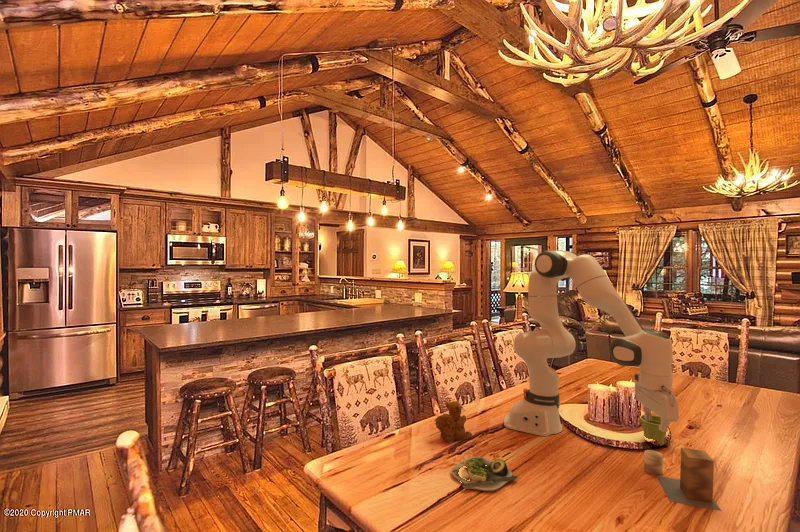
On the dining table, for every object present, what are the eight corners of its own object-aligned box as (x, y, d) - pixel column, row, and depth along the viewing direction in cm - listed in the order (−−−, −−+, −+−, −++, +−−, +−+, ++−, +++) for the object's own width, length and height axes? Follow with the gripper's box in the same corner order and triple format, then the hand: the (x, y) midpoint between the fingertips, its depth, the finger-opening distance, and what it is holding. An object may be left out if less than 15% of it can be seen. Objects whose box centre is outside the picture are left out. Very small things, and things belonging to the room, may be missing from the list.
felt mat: (669, 502, 112) (669, 501, 112) (655, 476, 125) (655, 475, 125) (721, 512, 108) (721, 510, 108) (701, 484, 121) (701, 483, 121)
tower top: (687, 478, 113) (688, 457, 113) (680, 467, 118) (681, 447, 118) (713, 482, 111) (713, 460, 111) (704, 471, 116) (705, 450, 116)
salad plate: (486, 506, 110) (487, 489, 110) (438, 479, 123) (438, 464, 123) (523, 479, 123) (523, 465, 123) (475, 458, 136) (475, 444, 136)
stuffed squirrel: (473, 436, 152) (474, 402, 152) (452, 449, 142) (452, 412, 142) (452, 428, 159) (452, 395, 159) (430, 440, 149) (430, 405, 148)
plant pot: (674, 449, 143) (674, 425, 143) (645, 447, 145) (645, 423, 145) (662, 438, 152) (663, 415, 152) (635, 435, 154) (636, 413, 154)
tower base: (687, 498, 113) (687, 478, 113) (680, 487, 119) (680, 467, 118) (712, 503, 111) (713, 482, 111) (704, 491, 117) (704, 471, 116)
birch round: (646, 474, 126) (646, 456, 126) (642, 466, 131) (642, 448, 131) (664, 477, 125) (665, 458, 124) (660, 469, 129) (660, 451, 129)
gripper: (685, 392, 116) (685, 439, 116) (650, 373, 137) (650, 413, 137) (662, 391, 117) (661, 438, 117) (631, 372, 137) (630, 412, 137)
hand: (655, 425), depth 127 cm, fingers open, 8 cm apart
